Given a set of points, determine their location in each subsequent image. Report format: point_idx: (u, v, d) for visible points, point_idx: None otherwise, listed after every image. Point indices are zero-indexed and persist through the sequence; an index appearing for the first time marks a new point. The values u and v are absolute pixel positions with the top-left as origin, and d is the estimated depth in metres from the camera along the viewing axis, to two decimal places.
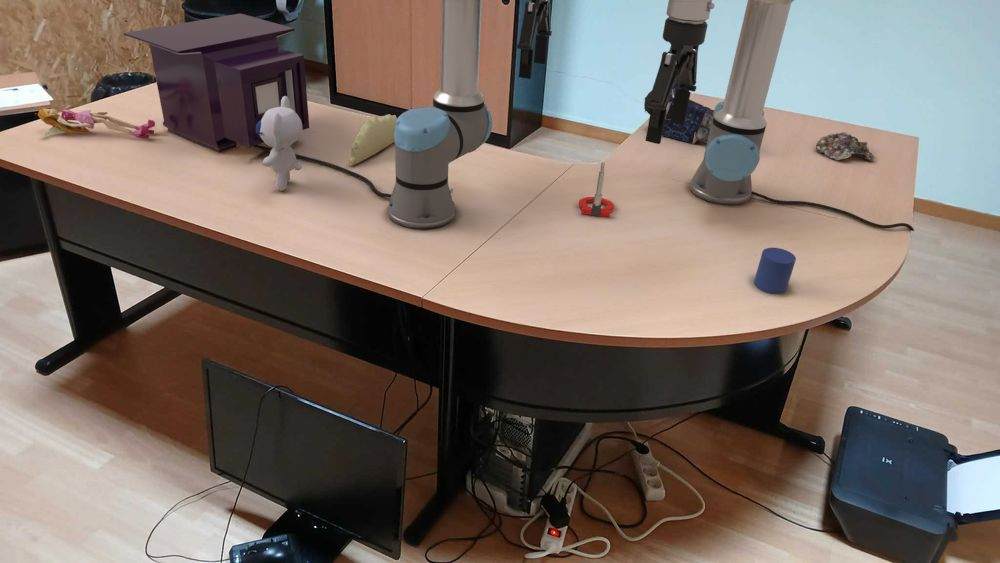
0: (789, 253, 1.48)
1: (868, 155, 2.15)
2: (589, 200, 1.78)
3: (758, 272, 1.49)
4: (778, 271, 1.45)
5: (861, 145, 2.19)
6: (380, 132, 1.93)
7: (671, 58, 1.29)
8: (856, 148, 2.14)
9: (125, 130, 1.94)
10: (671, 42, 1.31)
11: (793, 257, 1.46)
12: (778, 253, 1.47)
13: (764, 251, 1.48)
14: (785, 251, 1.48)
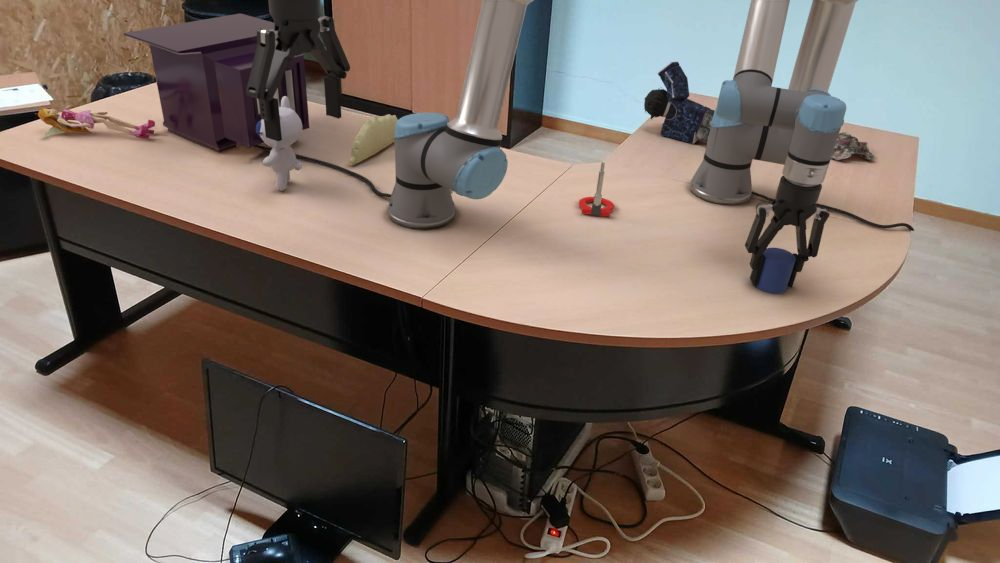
0: (789, 253, 1.48)
1: (868, 155, 2.15)
2: (589, 200, 1.78)
3: None
4: (778, 271, 1.45)
5: (861, 145, 2.19)
6: (380, 132, 1.93)
7: (265, 36, 1.06)
8: (856, 148, 2.14)
9: (125, 130, 1.94)
10: (273, 17, 1.08)
11: (793, 257, 1.46)
12: (778, 253, 1.47)
13: (764, 251, 1.48)
14: (785, 251, 1.48)
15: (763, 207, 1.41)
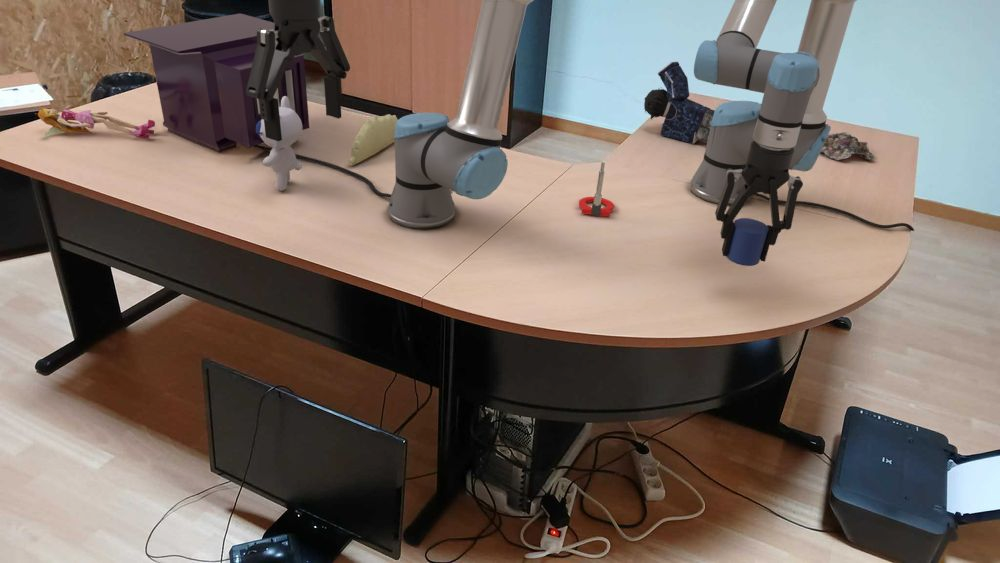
0: (763, 224, 1.41)
1: (868, 155, 2.15)
2: (589, 200, 1.78)
3: None
4: (747, 241, 1.38)
5: (861, 145, 2.19)
6: (380, 132, 1.93)
7: (265, 36, 1.06)
8: (856, 148, 2.14)
9: (125, 130, 1.94)
10: (273, 17, 1.08)
11: (766, 228, 1.39)
12: (750, 224, 1.41)
13: (736, 221, 1.41)
14: (759, 222, 1.41)
15: (732, 172, 1.35)
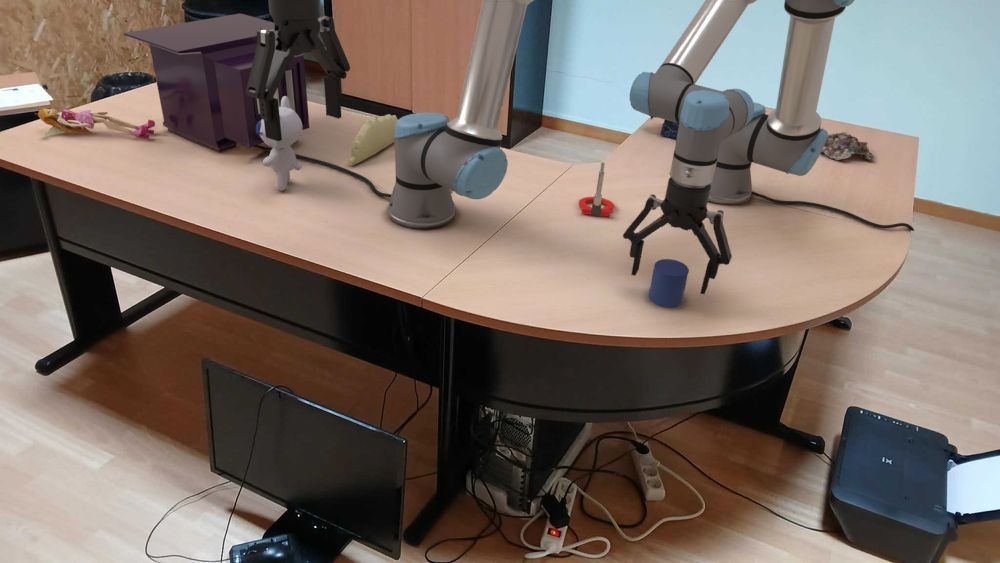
0: (685, 268, 1.40)
1: (868, 155, 2.15)
2: (589, 200, 1.78)
3: None
4: (662, 282, 1.39)
5: (861, 145, 2.19)
6: (380, 132, 1.93)
7: (265, 36, 1.06)
8: (856, 148, 2.14)
9: (125, 130, 1.94)
10: (273, 17, 1.08)
11: (685, 272, 1.39)
12: (672, 266, 1.40)
13: (659, 261, 1.42)
14: (683, 265, 1.41)
15: (652, 199, 1.35)
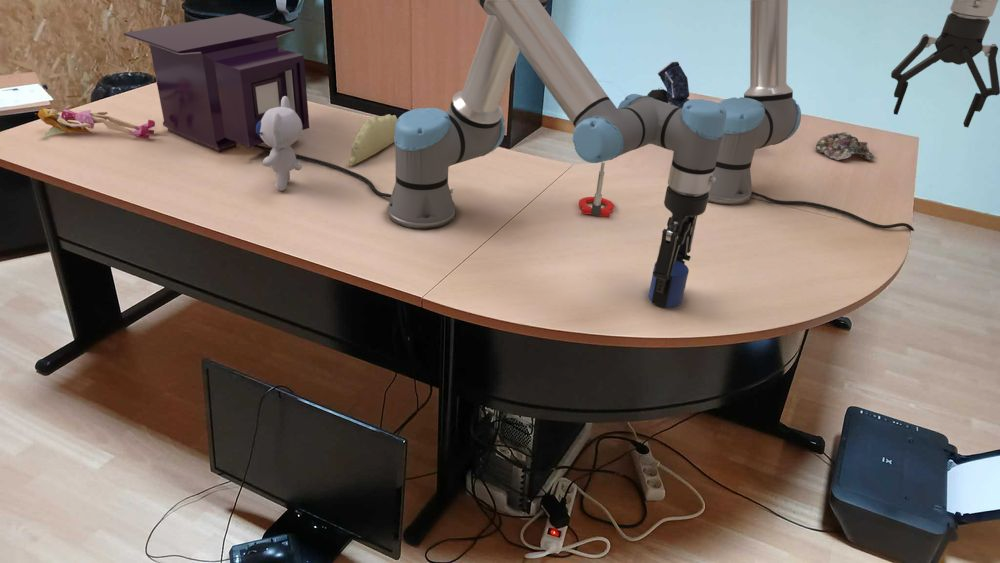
0: (685, 268, 1.40)
1: (868, 155, 2.15)
2: (589, 200, 1.78)
3: None
4: None
5: (861, 145, 2.19)
6: (380, 132, 1.93)
7: (671, 237, 1.30)
8: (856, 148, 2.14)
9: (125, 130, 1.94)
10: (672, 212, 1.31)
11: (685, 272, 1.39)
12: None
13: None
14: (683, 265, 1.41)
15: (928, 36, 1.49)
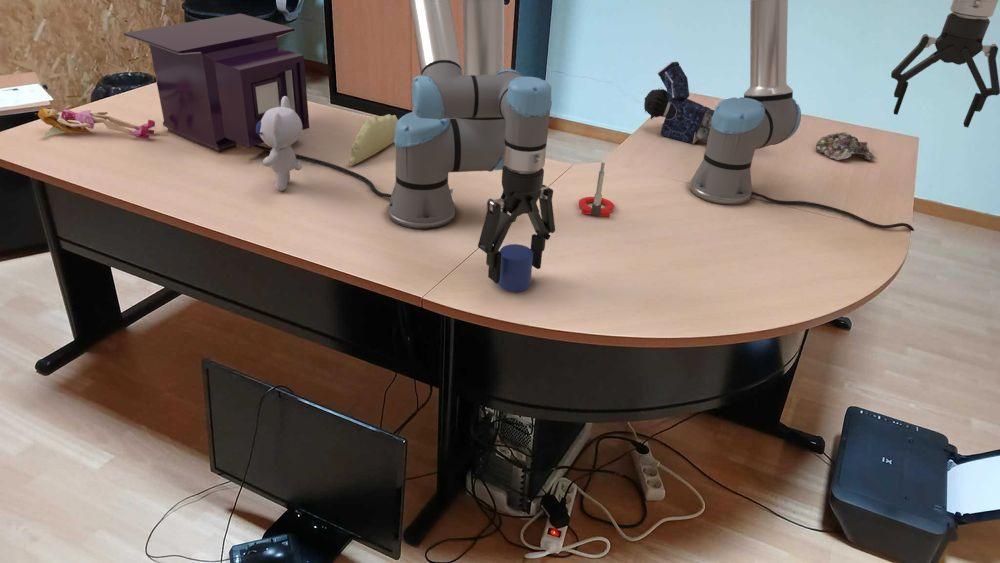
0: (529, 255, 1.41)
1: (868, 155, 2.15)
2: (589, 200, 1.78)
3: None
4: (501, 264, 1.41)
5: (861, 145, 2.19)
6: (380, 132, 1.93)
7: (493, 207, 1.31)
8: (856, 148, 2.14)
9: (125, 130, 1.94)
10: (503, 187, 1.33)
11: (524, 258, 1.39)
12: (518, 251, 1.42)
13: (511, 245, 1.44)
14: (529, 253, 1.41)
15: (928, 36, 1.49)
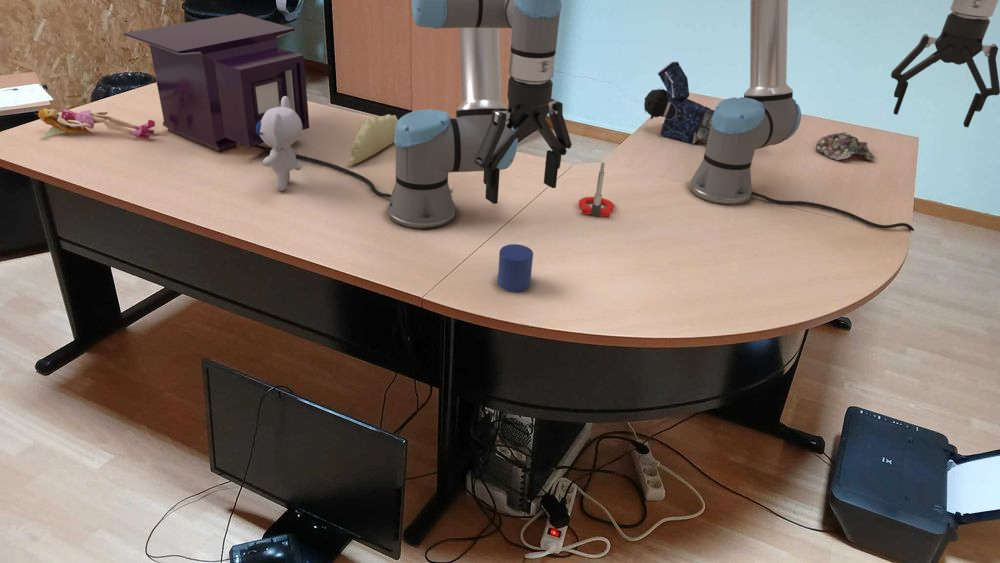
0: (529, 255, 1.41)
1: (868, 155, 2.15)
2: (589, 200, 1.78)
3: None
4: (501, 264, 1.41)
5: (861, 145, 2.19)
6: (380, 132, 1.93)
7: (498, 117, 1.22)
8: (856, 148, 2.14)
9: (125, 130, 1.94)
10: (509, 100, 1.24)
11: (524, 258, 1.39)
12: (518, 251, 1.42)
13: (511, 245, 1.44)
14: (529, 253, 1.41)
15: (928, 36, 1.49)
